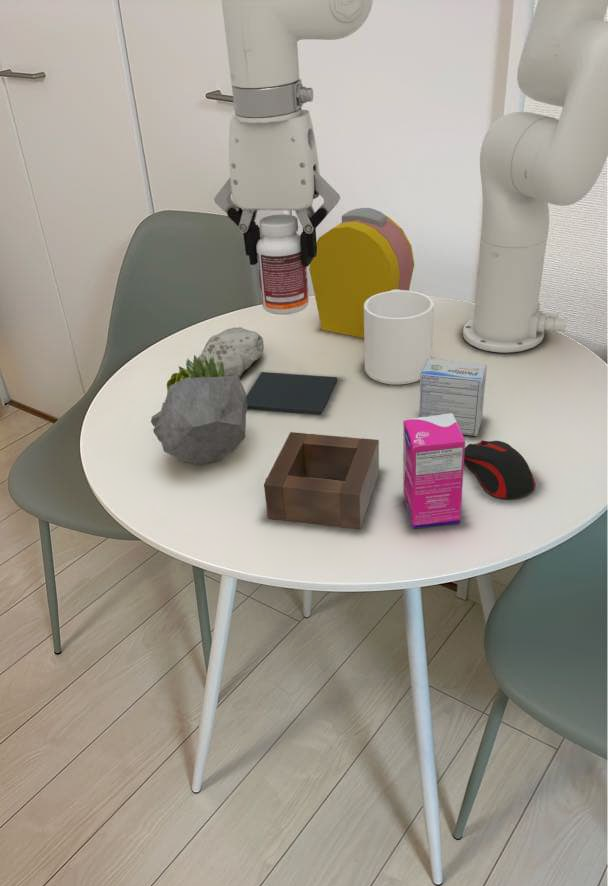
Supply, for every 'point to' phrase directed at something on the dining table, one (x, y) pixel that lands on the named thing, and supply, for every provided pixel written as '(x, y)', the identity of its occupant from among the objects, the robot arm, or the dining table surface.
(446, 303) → the dining table surface
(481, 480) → the computer mouse
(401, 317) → the mug
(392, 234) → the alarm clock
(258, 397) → the mat
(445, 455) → the supplement box
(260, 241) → the pill bottle
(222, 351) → the decorative stone
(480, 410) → the medicine box
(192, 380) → the potted plant
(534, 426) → the dining table surface
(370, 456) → the holder
